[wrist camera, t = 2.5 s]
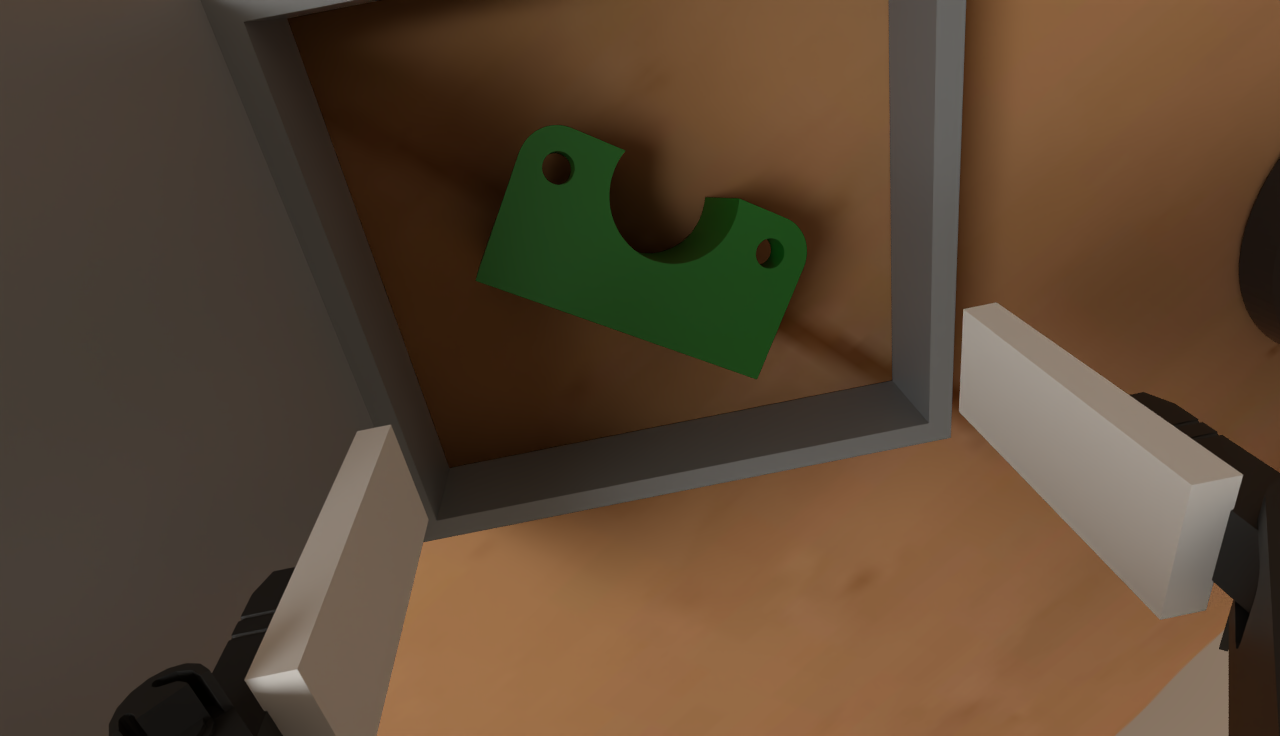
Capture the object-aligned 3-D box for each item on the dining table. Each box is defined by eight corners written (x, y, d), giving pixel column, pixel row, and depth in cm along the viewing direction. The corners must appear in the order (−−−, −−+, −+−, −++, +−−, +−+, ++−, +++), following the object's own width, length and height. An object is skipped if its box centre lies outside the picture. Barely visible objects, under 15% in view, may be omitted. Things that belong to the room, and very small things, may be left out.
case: (915, -137, 26) (2286, -661, 5) (912, 394, 36) (1373, 918, 15) (225, -3, 26) (-1124, -7, 5) (419, 491, 36) (226, 1150, 15)
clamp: (705, 206, 35) (846, 245, 28) (660, 321, 36) (786, 387, 29) (482, 103, 28) (597, 121, 21) (433, 251, 29) (527, 316, 22)
